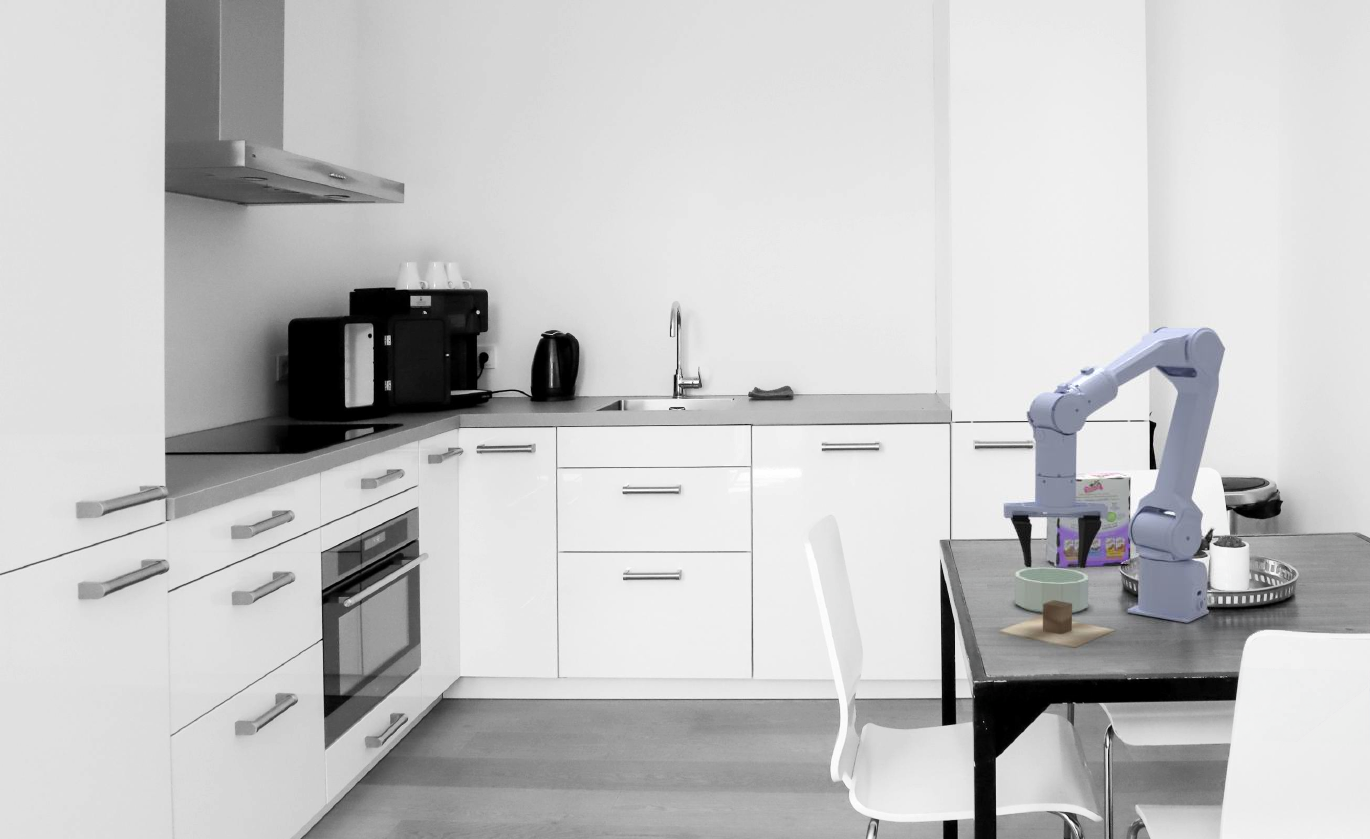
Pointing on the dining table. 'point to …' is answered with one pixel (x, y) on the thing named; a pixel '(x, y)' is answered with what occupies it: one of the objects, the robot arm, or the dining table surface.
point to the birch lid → (1057, 627)
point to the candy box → (1113, 532)
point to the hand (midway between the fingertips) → (1054, 566)
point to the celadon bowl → (1051, 588)
